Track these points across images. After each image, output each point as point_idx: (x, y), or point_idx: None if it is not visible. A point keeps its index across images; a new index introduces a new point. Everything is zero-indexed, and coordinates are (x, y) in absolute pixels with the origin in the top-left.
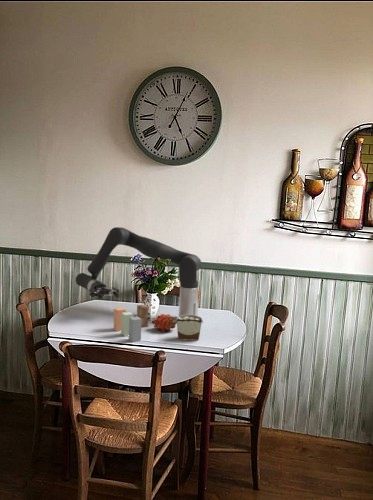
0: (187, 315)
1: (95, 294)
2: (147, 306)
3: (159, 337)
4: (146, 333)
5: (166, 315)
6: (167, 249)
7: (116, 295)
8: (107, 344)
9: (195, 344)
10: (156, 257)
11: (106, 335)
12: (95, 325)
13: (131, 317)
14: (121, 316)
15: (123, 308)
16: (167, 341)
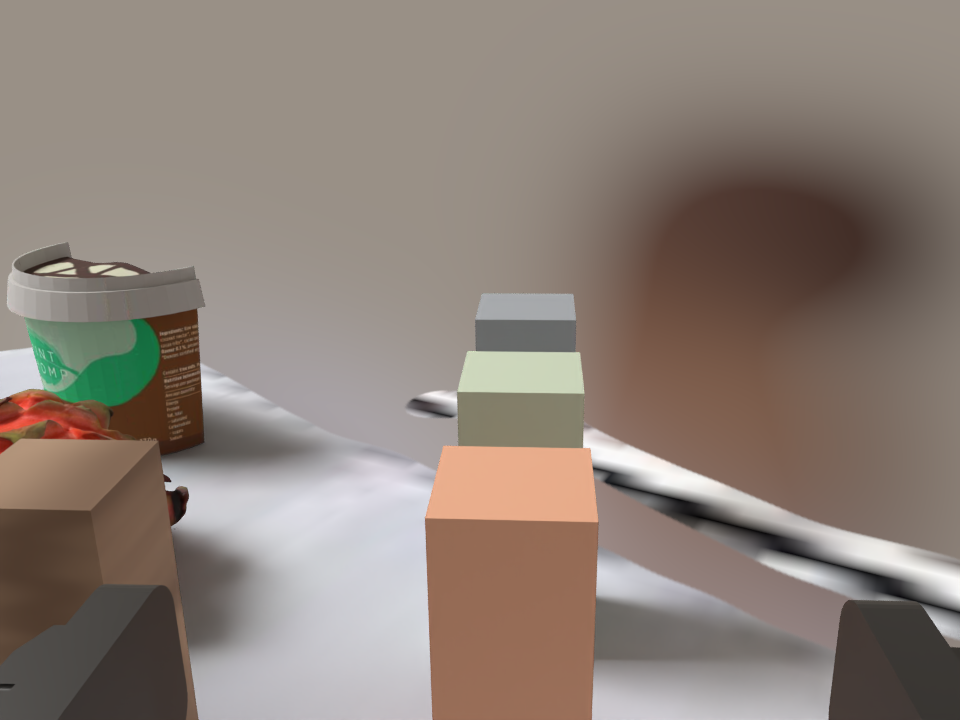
0: (38, 281)
1: None
2: (23, 444)
3: (283, 496)
4: (301, 582)
5: (2, 423)
6: None
7: (160, 706)
8: (813, 528)
9: None
10: None
11: (776, 685)
12: None
13: (551, 317)
14: (582, 440)
15: (441, 478)
16: (302, 443)
